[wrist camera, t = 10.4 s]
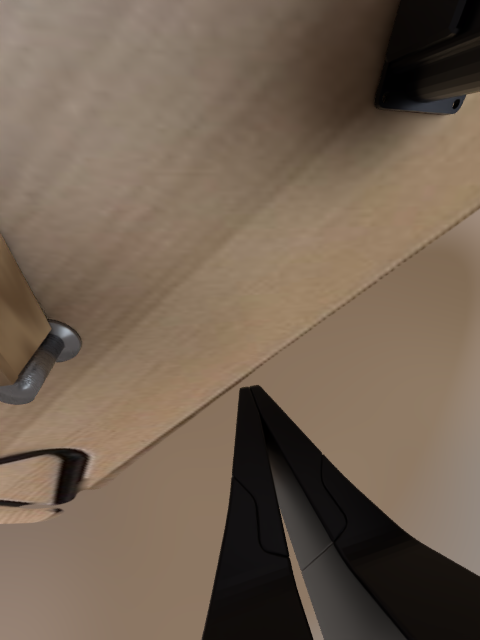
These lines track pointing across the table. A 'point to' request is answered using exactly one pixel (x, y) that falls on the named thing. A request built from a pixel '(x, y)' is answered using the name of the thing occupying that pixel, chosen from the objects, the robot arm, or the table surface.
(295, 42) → the table surface
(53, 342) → the hinge post
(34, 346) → the tan wooden flat block
